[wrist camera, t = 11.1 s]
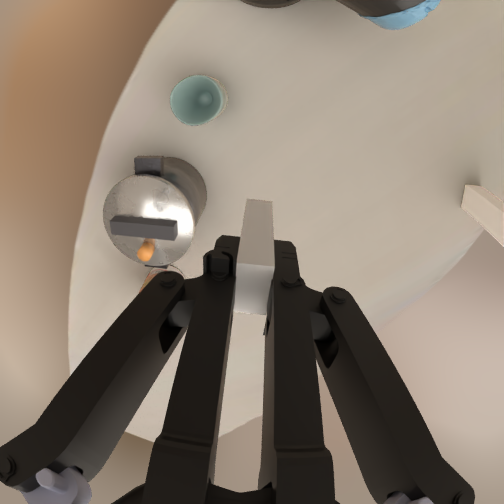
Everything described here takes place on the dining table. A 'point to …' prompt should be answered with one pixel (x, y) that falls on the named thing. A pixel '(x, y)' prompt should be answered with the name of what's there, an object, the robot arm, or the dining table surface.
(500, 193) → the dining table surface
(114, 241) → the lid
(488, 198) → the milk
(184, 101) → the cup
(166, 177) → the cooker pot
